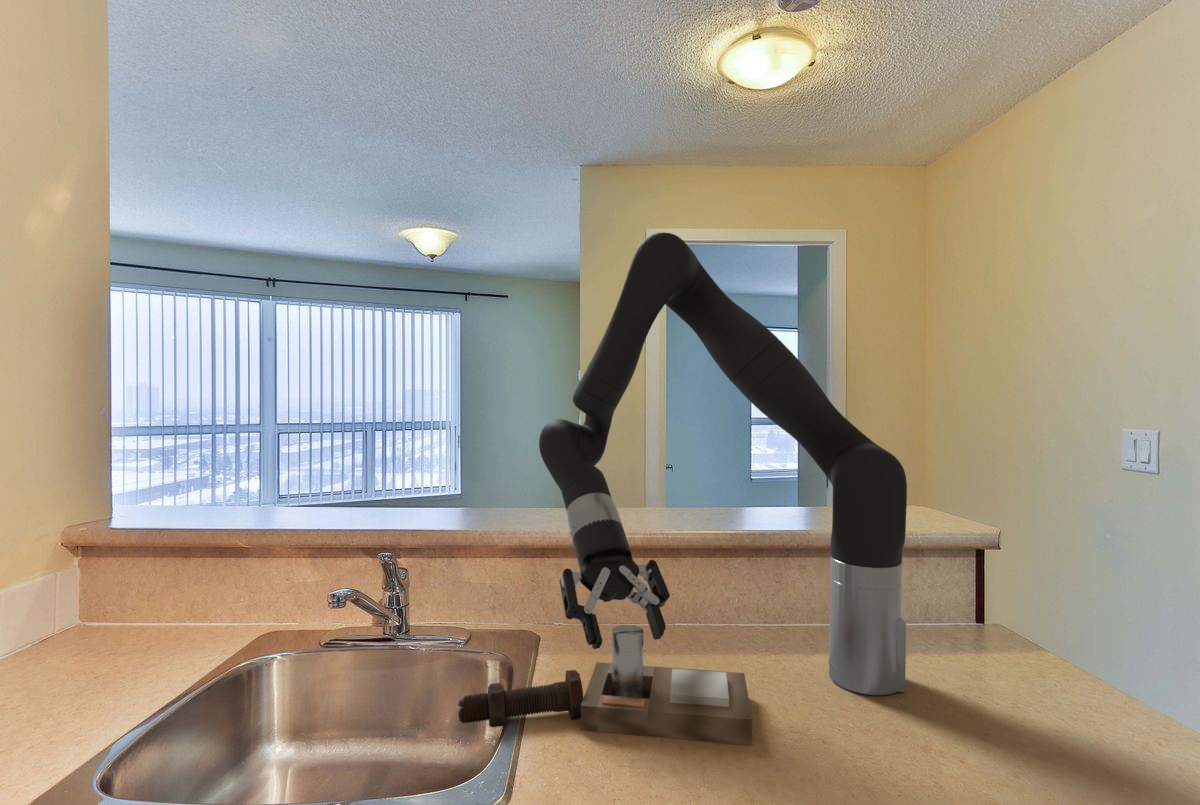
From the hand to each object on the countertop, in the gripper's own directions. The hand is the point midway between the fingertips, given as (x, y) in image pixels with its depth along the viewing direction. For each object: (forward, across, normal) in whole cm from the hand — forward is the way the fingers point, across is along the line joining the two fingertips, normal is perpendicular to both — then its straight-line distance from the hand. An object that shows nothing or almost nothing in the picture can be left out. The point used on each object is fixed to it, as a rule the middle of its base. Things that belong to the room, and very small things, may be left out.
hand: (629, 641), depth 79 cm
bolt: (+4, -13, +9) cm, 17 cm away
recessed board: (+8, +4, +5) cm, 10 cm away
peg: (+6, 0, +7) cm, 9 cm away
